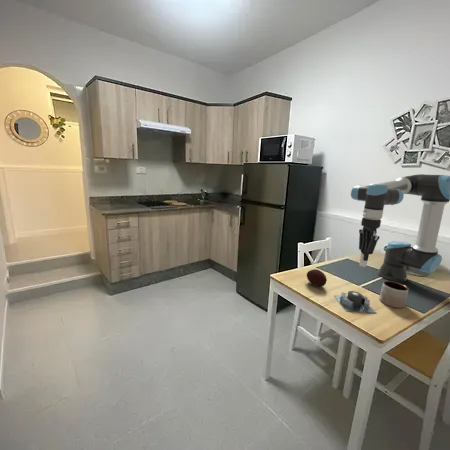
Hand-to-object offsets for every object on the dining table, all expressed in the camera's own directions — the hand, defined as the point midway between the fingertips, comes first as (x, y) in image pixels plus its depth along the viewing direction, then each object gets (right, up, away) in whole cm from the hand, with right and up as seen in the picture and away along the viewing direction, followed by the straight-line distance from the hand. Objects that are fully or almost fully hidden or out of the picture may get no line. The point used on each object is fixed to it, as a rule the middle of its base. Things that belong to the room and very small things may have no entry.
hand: (362, 265), depth 114 cm
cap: (-3, -19, +3) cm, 20 cm away
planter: (+19, -20, +7) cm, 28 cm away
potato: (-15, -15, +21) cm, 30 cm away
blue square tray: (-3, -19, +3) cm, 20 cm away
